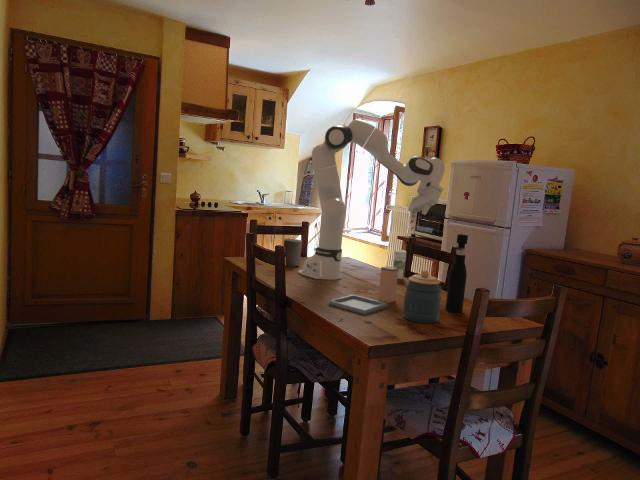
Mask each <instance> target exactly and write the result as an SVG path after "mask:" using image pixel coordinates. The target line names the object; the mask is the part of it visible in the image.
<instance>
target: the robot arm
mask: <svg viewBox="0 0 640 480" xmlns="http://www.w3.org/2000/svg"><path fill="white" fill-rule="evenodd" d="M388 142H389V141H388V138H387V135H386V134H385V133H384V132H383V131H382V130H380V128H377V127H376V126H374V125H373V124H371V123H369V122H367V121H365V120H362V119H359V118H356V119H353V120H352V121H351V122H349V124H348V125H333V126H331V127H329V128H328V129H327V130H326V132H325V136H324V141H323V142H322V143H321V144H320V143H319V144H318V145H316V146H315V147H313V149H312V150H311V161H312V168H313V174H314V179H315V184H316V189H317V193H318V194H317V195H318V199H319V204H320V208H321V209H320V210H321V216H320V226H319V235H318V236H319V238H318V246H317V247H314V248H313V251H315V252H314V254H313V255H311V256H310V257H309V258H307V259H306V260H305V261H303V265H302V269H299V270H297V274H300V275H303V276H306V277H308V278H312V279H315V280H331V281H332V280H341V279H343V275H342V268H341V267H342V265H341V264H342V263H341V262H342V257H343V255H342V254H343V249H342V245H343V243H342V242H343V233H344V226H345V217H346V204H345V202H344V200H343V197H342V195H343V194H342V189H341V181H340V176H339V172H338V166H337V163H336V154H337V153H338V152H340V151H342V150H344V149H345V148H346V147H347V146H348V144H350V143H351V144H352V143H353V144H356V145H357V146H359V147H361V148H362V149H364V150H365V151H367V152H368V153H369V154H370V155H371V156H372V157H374V159H375V160H376V161H377V162H379V164H381V165H382V166H383V167H384V168H386V169H387V170H389V172H391V173H392V174H393V175H395V176H396V178H397V179H398V180H399V182H400V183H401V184H403V185H404V186H407V187H412V186H415V185H416V184H417V183H418V182H419V181H420V183H419V185H418V188H417V192H416V193H417V195H415V196H413V198H412V199H411V201H410V203H409V206H408V209H407V211H408V212H409V213H411V215H410V219H411V220H415V219H416V217H417V213H418V212H421V215H424V216H425V215H427V213H428V212H429V210H430V208H431V207H432V206H434V205H436V204H437V203H438V202H439V199H441V198H440V197H441V194H442V192H443V191H444V188H443V187H442V186H440V184H441V182H442V181H443V177H444V175H445V170H446V167H445V162H444V161H443V160H442V159H441V158H438V157H431V158H427V157H424V156H420V155H415V156H411V158H410V159H409V160H408V161H407V162H406V164H404V163H402V162H401V161H400V160H399V159H397V158H395V156H393V155H392V154H391V153H390V151H389V148H388V147H389V145H388Z"/></svg>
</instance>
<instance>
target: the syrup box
mask: <svg viewBox="0 0 640 480" xmlns="http://www.w3.org/2000/svg"><path fill="white" fill-rule="evenodd" d="M406 259H407V251H406V250H404V249H397V248H396V249H394V250H393V260H392V261H393V262H392V267H395V268H399V270H398V277H397V280H402V281H403V280H404V277H405V268H406V261H407V260H406Z"/></svg>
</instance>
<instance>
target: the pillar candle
mask: <svg viewBox="0 0 640 480" xmlns="http://www.w3.org/2000/svg"><path fill="white" fill-rule="evenodd" d="M302 245H303V240H300V239H295V238H284V239H283V247H285V251H286V266H285V267H287V266H290V268H296V267H295V266H299V267H301V258H302V257H301V255H302V248H303V247H302Z"/></svg>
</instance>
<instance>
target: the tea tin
mask: <svg viewBox="0 0 640 480" xmlns="http://www.w3.org/2000/svg"><path fill="white" fill-rule="evenodd" d="M398 270H399V268H395V267H393V266H388V265H385V266H380V277H379V278H380V279H379V289H378V298H377V299H378V300H377V301H381V302H384V303H387V304H389V303H392V302H395V301H396V295H397V286H398V279H397V277H398Z"/></svg>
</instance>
